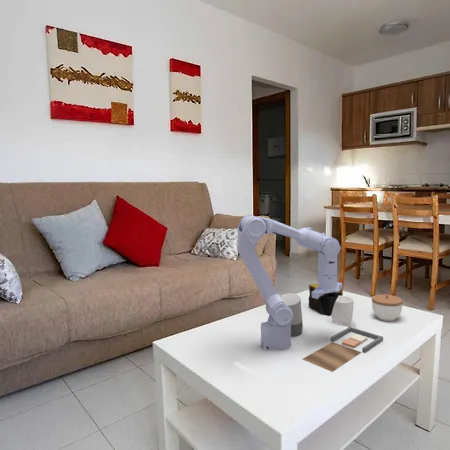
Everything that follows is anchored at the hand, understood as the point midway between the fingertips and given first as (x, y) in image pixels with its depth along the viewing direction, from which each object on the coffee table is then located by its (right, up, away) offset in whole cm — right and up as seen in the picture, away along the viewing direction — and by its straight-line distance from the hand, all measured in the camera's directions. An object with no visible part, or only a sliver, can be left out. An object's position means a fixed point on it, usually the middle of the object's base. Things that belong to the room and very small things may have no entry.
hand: (327, 315), depth 116 cm
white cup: (+10, -8, +16) cm, 21 cm away
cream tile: (+10, -9, +1) cm, 14 cm away
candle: (+8, -6, +33) cm, 35 cm away
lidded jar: (+29, -7, +22) cm, 37 cm away
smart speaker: (-11, -10, +9) cm, 17 cm away
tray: (+9, -10, 0) cm, 13 cm away
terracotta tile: (+7, -10, -2) cm, 12 cm away
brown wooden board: (-1, -11, -9) cm, 15 cm away
